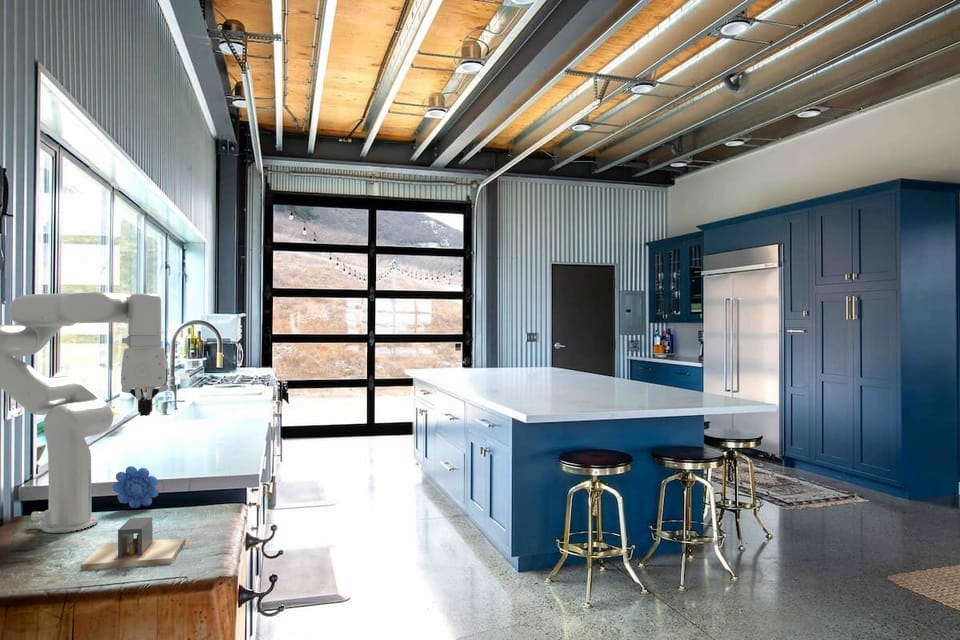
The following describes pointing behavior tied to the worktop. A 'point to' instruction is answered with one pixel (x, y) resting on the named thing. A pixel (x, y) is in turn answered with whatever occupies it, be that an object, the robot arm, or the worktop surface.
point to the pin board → (134, 554)
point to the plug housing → (133, 527)
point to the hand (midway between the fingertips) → (145, 415)
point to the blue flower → (135, 487)
